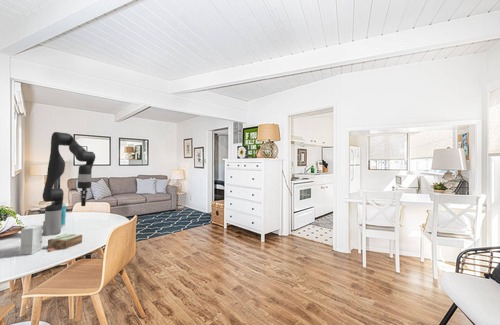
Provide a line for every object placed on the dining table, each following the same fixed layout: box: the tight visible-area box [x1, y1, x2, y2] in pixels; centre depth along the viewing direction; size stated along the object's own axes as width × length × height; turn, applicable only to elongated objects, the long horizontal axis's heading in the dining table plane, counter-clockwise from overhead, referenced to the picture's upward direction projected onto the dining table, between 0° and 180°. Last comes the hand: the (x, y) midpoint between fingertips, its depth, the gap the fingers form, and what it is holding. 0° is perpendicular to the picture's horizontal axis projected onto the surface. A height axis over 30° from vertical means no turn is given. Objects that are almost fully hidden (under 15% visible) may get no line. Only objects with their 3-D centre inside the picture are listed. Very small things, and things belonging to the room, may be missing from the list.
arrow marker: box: [47, 247, 58, 252], centre depth 134 cm, size 6×3×1 cm, turn 175°
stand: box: [47, 233, 83, 250], centre depth 142 cm, size 12×12×5 cm
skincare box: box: [19, 224, 43, 256], centre depth 130 cm, size 8×6×15 cm
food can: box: [46, 203, 67, 228], centre depth 181 cm, size 12×12×18 cm
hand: (83, 204), depth 148 cm, fingers open, 8 cm apart
